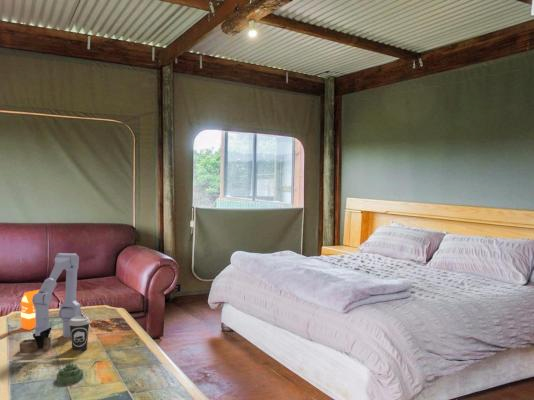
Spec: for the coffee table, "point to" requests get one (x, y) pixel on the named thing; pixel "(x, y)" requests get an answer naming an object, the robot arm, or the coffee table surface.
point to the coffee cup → (79, 332)
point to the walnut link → (34, 345)
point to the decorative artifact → (69, 374)
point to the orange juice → (28, 310)
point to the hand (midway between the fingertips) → (42, 346)
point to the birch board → (39, 352)
